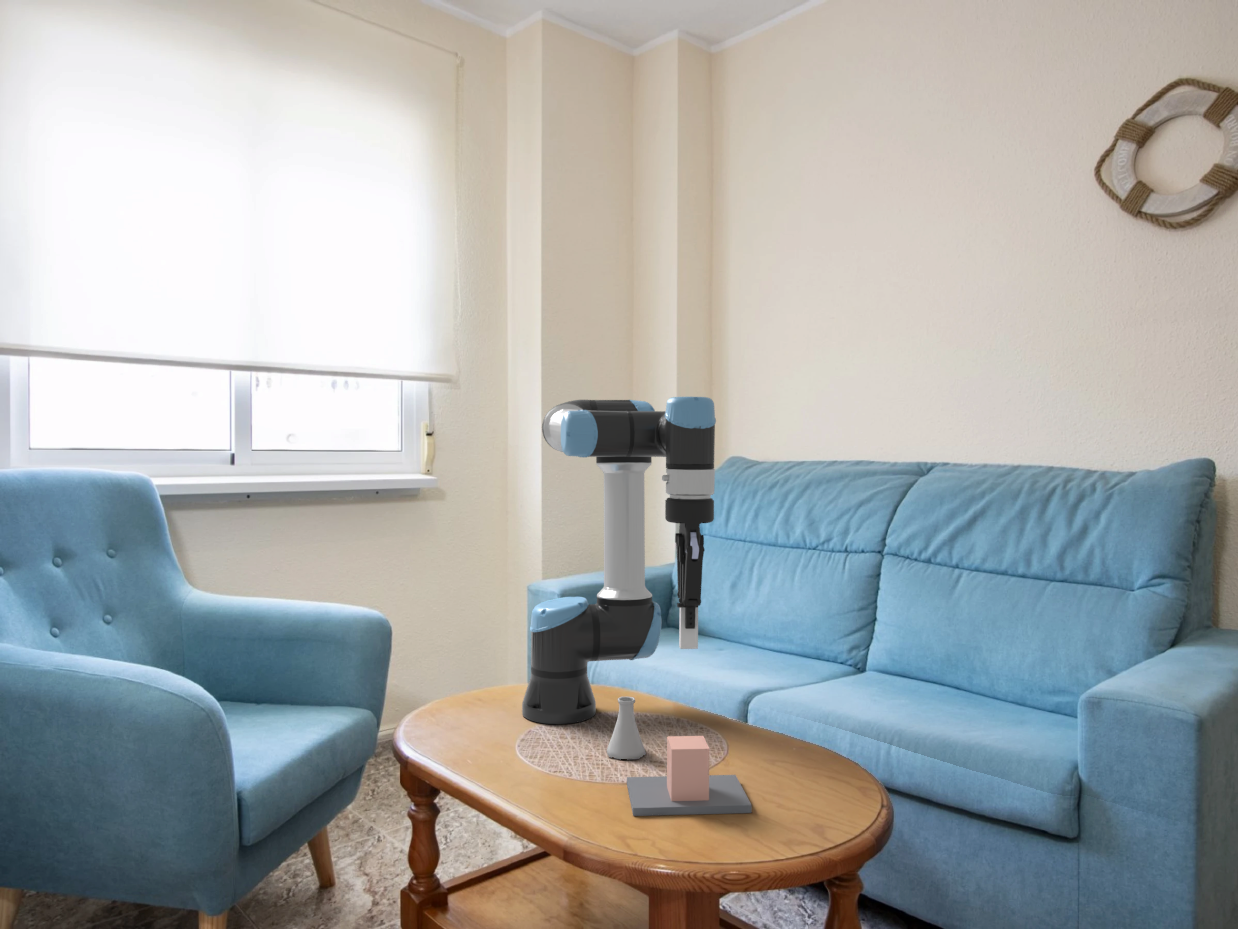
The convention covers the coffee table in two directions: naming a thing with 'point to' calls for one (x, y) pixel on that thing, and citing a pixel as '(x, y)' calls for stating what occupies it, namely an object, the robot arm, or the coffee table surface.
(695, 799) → the pink upright block
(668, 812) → the post board
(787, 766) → the coffee table surface
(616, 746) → the flask
